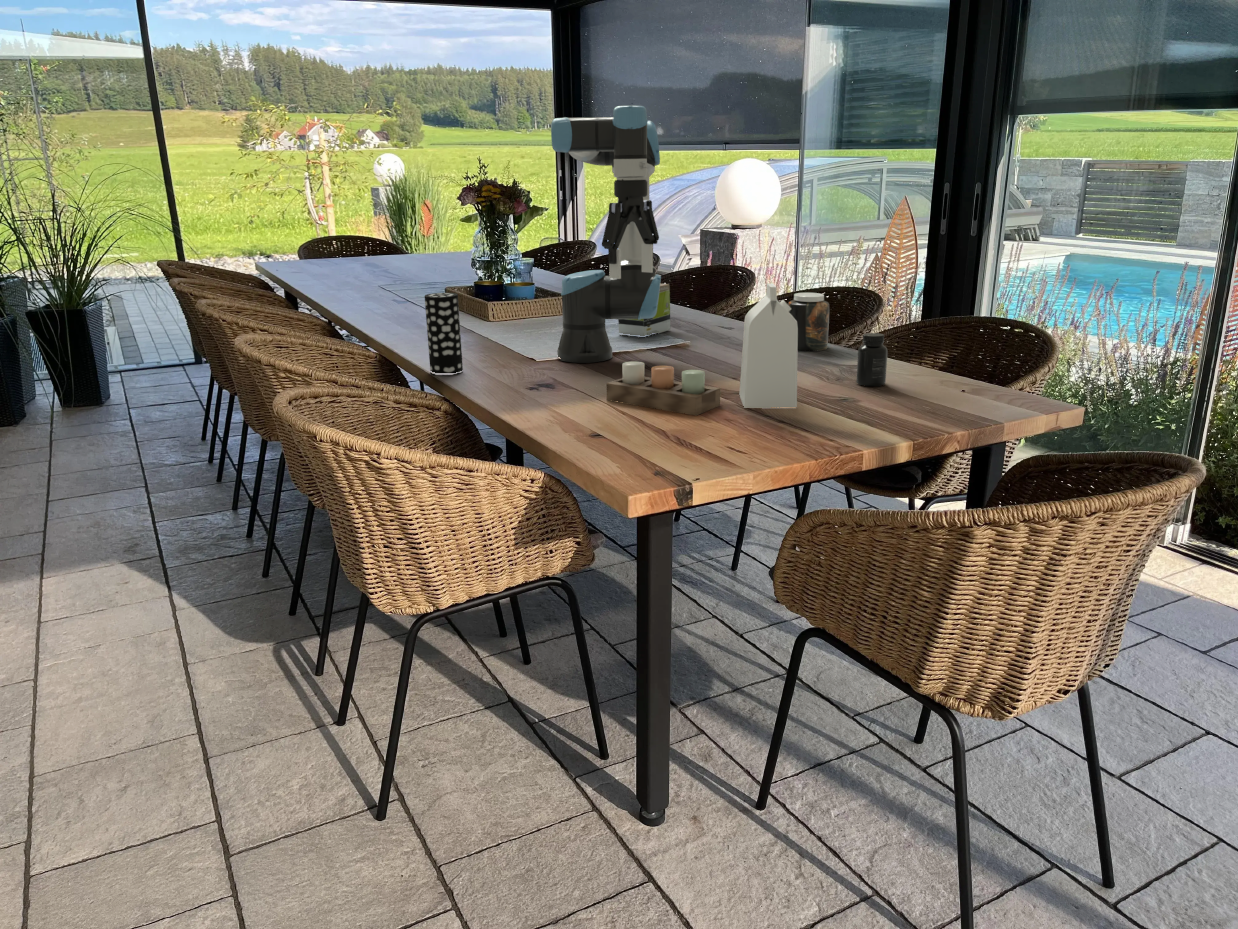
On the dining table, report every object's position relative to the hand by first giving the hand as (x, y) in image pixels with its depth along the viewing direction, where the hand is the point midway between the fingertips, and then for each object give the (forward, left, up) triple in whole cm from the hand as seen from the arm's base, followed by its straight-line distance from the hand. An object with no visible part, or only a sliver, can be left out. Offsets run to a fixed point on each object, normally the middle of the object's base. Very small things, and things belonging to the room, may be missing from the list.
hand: (631, 275), depth 220 cm
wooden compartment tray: (+15, -9, -26) cm, 32 cm away
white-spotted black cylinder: (-49, -14, -27) cm, 58 cm away
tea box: (-37, +59, -27) cm, 75 cm away
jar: (+15, +65, -27) cm, 72 cm away
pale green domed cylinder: (+23, -9, -23) cm, 34 cm away
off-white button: (+7, -9, -23) cm, 26 cm away
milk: (+34, +5, -27) cm, 43 cm away
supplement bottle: (+47, +33, -27) cm, 63 cm away
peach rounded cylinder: (+15, -9, -23) cm, 29 cm away
